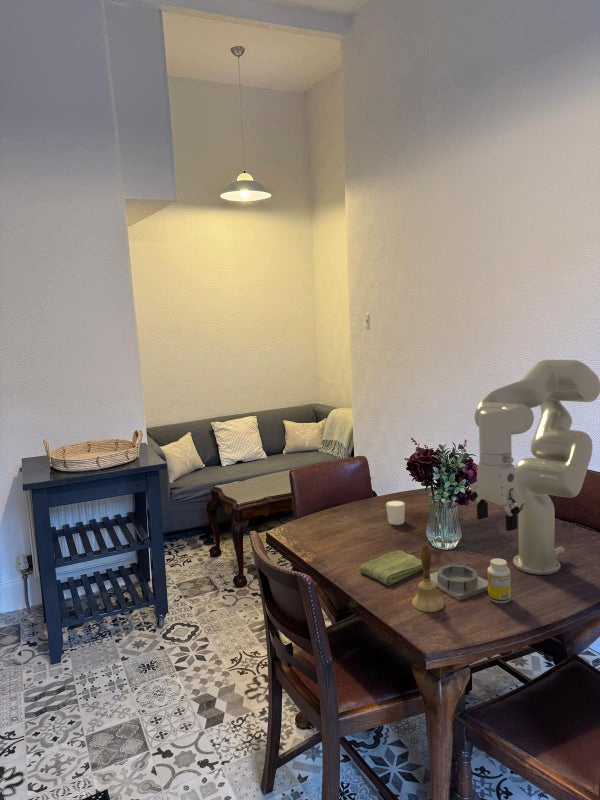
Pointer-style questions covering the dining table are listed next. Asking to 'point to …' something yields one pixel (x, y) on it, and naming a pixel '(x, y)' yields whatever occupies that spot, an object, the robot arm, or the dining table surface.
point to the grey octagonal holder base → (459, 581)
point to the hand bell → (427, 587)
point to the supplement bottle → (499, 581)
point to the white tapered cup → (395, 512)
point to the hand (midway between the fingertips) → (496, 523)
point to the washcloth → (392, 567)
